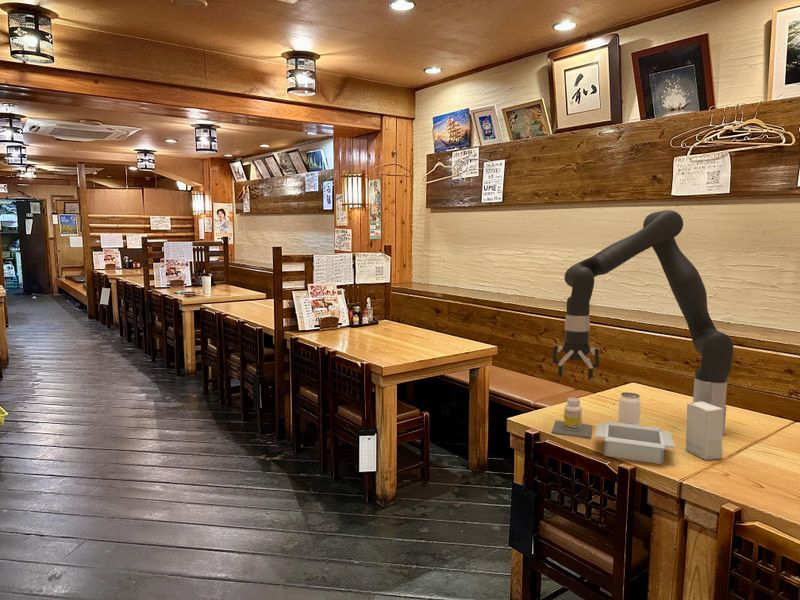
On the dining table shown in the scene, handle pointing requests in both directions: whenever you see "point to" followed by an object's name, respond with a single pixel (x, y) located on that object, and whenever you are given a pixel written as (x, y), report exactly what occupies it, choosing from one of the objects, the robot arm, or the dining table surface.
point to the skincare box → (704, 430)
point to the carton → (634, 441)
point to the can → (629, 408)
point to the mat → (582, 433)
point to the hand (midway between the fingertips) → (575, 378)
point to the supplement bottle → (572, 414)
